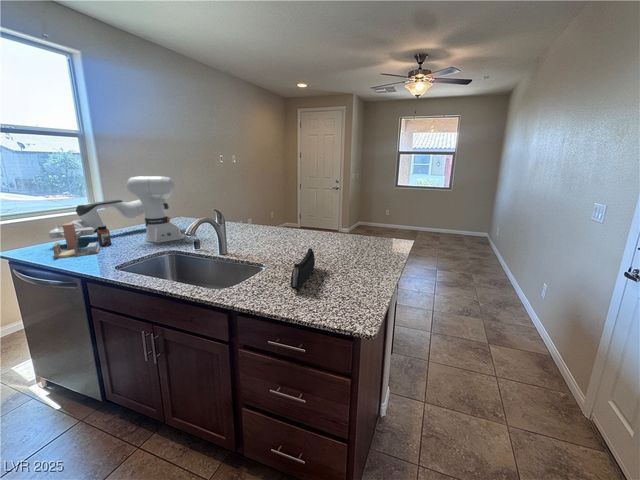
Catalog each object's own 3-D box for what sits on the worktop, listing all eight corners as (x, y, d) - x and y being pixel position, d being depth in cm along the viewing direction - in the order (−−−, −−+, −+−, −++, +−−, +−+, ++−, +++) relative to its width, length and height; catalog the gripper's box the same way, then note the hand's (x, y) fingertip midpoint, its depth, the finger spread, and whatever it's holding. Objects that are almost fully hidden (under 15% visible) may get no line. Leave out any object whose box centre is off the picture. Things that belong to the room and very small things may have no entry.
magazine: (309, 248, 150) (292, 247, 120) (315, 248, 149) (301, 248, 120) (306, 283, 150) (289, 291, 120) (313, 284, 149) (297, 292, 120)
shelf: (99, 248, 175) (97, 238, 173) (97, 253, 166) (95, 242, 165) (57, 253, 166) (55, 242, 164) (53, 258, 158) (50, 246, 156)
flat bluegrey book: (98, 247, 174) (97, 242, 173) (96, 251, 167) (95, 246, 166) (90, 247, 172) (89, 243, 171) (88, 252, 165) (87, 246, 164)
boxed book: (78, 246, 178) (73, 222, 175) (76, 249, 173) (71, 224, 170) (69, 247, 176) (64, 223, 173) (67, 250, 171) (62, 225, 168)
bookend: (89, 248, 171) (87, 239, 169) (87, 252, 164) (85, 243, 163) (77, 249, 168) (75, 240, 167) (75, 253, 162) (73, 244, 160)
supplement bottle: (97, 244, 183) (94, 225, 180) (109, 242, 187) (106, 224, 184) (100, 246, 179) (97, 227, 176) (112, 244, 183) (109, 225, 180)
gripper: (96, 233, 190) (94, 239, 178) (53, 237, 180) (48, 243, 168) (94, 223, 188) (92, 228, 176) (51, 227, 178) (45, 232, 167)
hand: (70, 235), depth 172 cm, fingers closed on boxed book, 4 cm apart
